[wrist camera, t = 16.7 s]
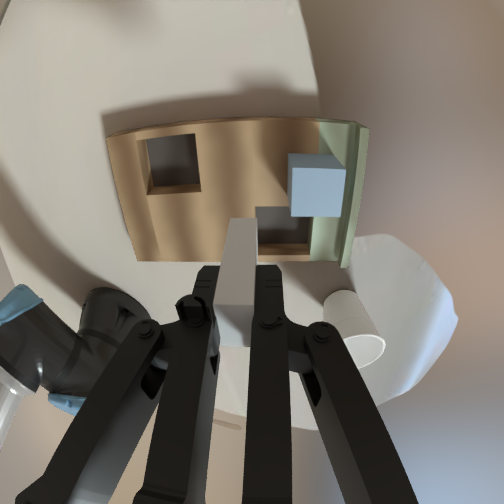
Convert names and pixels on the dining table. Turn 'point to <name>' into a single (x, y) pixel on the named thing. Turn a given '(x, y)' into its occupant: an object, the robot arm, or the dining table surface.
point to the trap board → (233, 186)
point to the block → (315, 185)
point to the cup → (354, 326)
